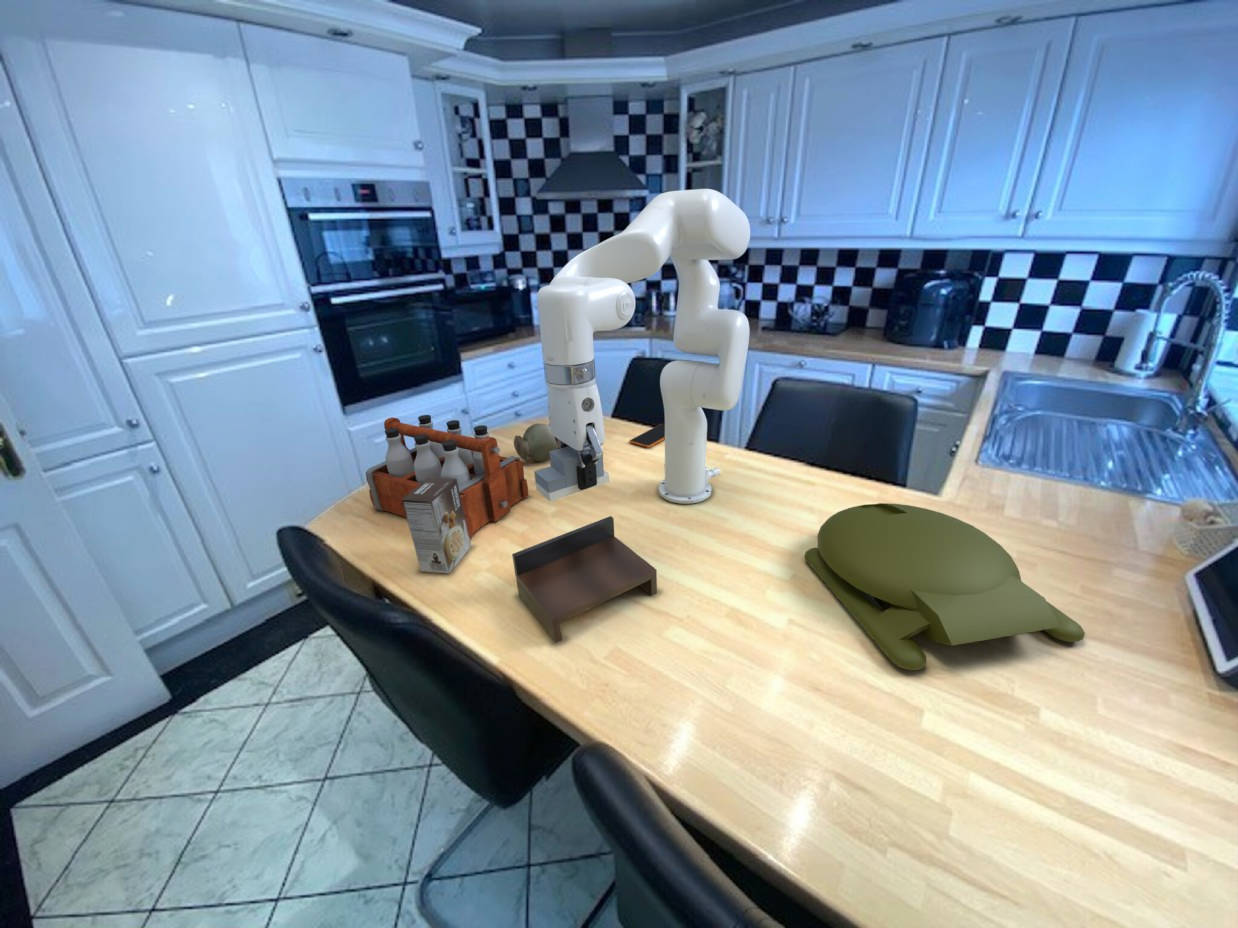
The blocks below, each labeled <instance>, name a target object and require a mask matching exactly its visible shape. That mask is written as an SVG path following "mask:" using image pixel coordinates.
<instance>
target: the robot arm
mask: <svg viewBox="0 0 1238 928" xmlns="http://www.w3.org/2000/svg"><path fill="white" fill-rule="evenodd" d="M750 241H751V226H750V222H749V219H748V217H747V215H746V213H745V212H744V211H743V210H742V209H741V208H740V206H738V205H736V203H734V202H733V201H732V200H731V199H730V198H729V197H727V196H726V195H725V194H723V193H721V192H720V191H718V190H716V189H715V190H714V189H712V188H697V189H683V190H670V191H665V192H662V193H660V194H658V195H656V196H655V197H654V198H652V200H651V201H650V202H649V203H648V204H647V205H646V206H645V207H644V208H643V209H642V210H641V211H640V213H639V214H638V215H637V216H636V217H635V218H633V220H632V221H631V222H630V223H629V224H628V225H627V226H626V228H625V229H624V230H623V231H622V232H620V233H617V234H616V235H613V236H611V237H609V238H607V239H605V240H603V241H601V242H600V243H598V244H596V245H593V246H592V247H590V248H588V249H586V250H583V251H582V252H580V253H579V254H577V255H575V256H574V257H573V258H571V259H570V260H569V261H568V262H567V263H566V264H565V265H564V266H563V267H562V268H561V269H560V270H559V271H558V272H557V273H556V274H555V276H554V277H553V279H551V282H550V283H549V285H545V286H542V287H541V288H540V289H539V290H538V292H537V295H536V303H537V314H538V324H539V334H540V343H541V353H542V361H543V363H542V364H543V372H544V381H545V385H546V387H547V410H548V411H547V412H548V424H550V429H551V432H552V434H553V435H554V436H555V440H556V442H557V449H560V448H564V447H567V446H570V447H572V448H574V449H575V450H576V454H577V459H578V463H579V466H578V467H577V478H578V488H579V489H580V490H584V489H587V488H590V487H593V486H596V485H597V474H596V464H597V462H598V461H597V460H598V459H599V458H600V457H601V456H602V455H603V456H604V450H603V447H602V445H604V444H605V441H606V439H605V437H606V435H605V425H604V415H603V409H602V402H601V397H600V392H599V389H598V385H597V382H596V380H597V379H596V365H595V364H596V363H595V348H594V333H595V332H604V331H605V332H607V331H615V330H618V329H621V328H623V327H624V326H626V325H627V324H628V323H629V322H630V321H631V319H632V318H633V316H634V314H635V311H636V297H635V293H634V290H632V289H633V288H632V287H631V286H630V285H629V284H630V283H635V282H639V281H641V280H644V279H646V278H650V277H652V276H653V275H655V274H657V272H659V271H660V269H661V268H662V267H663V265H664V264H665V263H666V262H667V260H668V259H669V258H670V259H671V262H672V264H673V267H674V270H675V272H676V275H677V280H678V281H677V282H678V293H677V301H676V302H677V303H676V310H675V316H674V317H675V318H674V325H673V336H672V337H673V339H672V340H673V344H674V347H675V348H676V350H678V351H679V352H681V353H685V354H691V355H698V356H707V357H708V356H709V357H715V358H718V363H716V362H706V361H701V360H690V359H676V360H672V361H670V362H668V363H667V364H666V365H665V366H664V367H663V368H662V370H661V372H660V377H659V385H660V386H659V388H660V393H661V399H662V404H663V412H664V413H663V414H664V424H665V439H664V480H662V481H661V482H660V483H659V484H658V494H659V496H660V497H661V498H663V499H664V500H666V501H667V502H671V503H675V504H682V505H690V504H696V503H701V502H704V501H705V500H707V499H708V498H709V497H710V496H711V495H712V490H713V489H712V485H711V484H710V482H709V481H710V480H712V478H715V477H718V476H720V473H721V471H720V469H719V468H717V467H715V468H713V469H710V470H709V468H708V466H707V439H708V420H707V417H706V414H705V412H704V410H703V409H710V410H717V411H730V410H732V409H734V408H735V407H736V405H738V402H739V400H740V397H741V394H742V390H743V389H742V387H743V382H744V377H745V371H746V363H747V358H748V351H749V345H750V335H751V332H750V330H751V329H750V322H749V319H748V317H747V316H746V314H744V313H743V312H742V311H740V310H737V309H727V308H725V309H724V308H719V298H720V291H721V282H720V279H719V276H718V274H717V272H716V270H715V268H714V267H713V266H712V264H711V262H710V261H731V260H736V259H739V258H740V257H742V256H743V255H744V254H745V253H746V251H747V249H748V247H749V244H750ZM585 442H588V445H586V446H583V443H585ZM586 450H589V454H587V455H586V456H585V457H583V451H586ZM596 487H597V486H596ZM593 488H594V487H593ZM590 489H591V488H590ZM587 490H588V489H587ZM584 491H585V490H584Z"/></svg>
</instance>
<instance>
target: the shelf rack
mask: <svg viewBox="0 0 1238 928" xmlns="http://www.w3.org/2000/svg"><path fill="white" fill-rule="evenodd" d="M614 520H615V519H614V517H613V516H611V515H610V516H607V517H604V518H602V519H599V520H596V521H594V522H592V523H589V524H586V525H584V526H581V527H578V528H576V529H573V530H571V531H568V532H565V533H562V534H560V535H558V536H555V537H552V538H550V539H547V540H545V541H542V542H539V543H537V544H535V545H532V546H529V547H526V548H524V549H522V550H519V551H516V552H514V553H511V555H512V556H511V557H512V562H513V563H512V564H513V568H514V569H513V570H514V575H515V581H516V588H517V592H518V597H519V598H520V600H521V601H522V602H523V604H525V606H526V607H527V608H528V610H529V611H530V613H531V614H532V615H533V617H534V618H535V619H536V620H537V621H538V623H539V624H540V626H542V628H543V629H544V631H545V632H546V633H547V634H548V636H549V637H550V639H551V640H552V641H553V642H554V643H555V644H557V643H560V642H562V641H563V637H562V636H563V635H562V627H561V623H564V622H566V621H568V620H571V618H574V617H576V616H578V615H580V614H582V613H584V612H587V611H588V610H590V609H593V608H595V607H597V606H599V605H601V604H603V603H605V602H607V601H609V600H611V599H614V598H616V597H617V596H620V595H621V594H623V593H626V592H628V591H630V590H631V589H634V588H636V587H638V586H640V587H641V588H642V589H643V590H645V592H646V593H648V594H649V595H650V596H653V595H656V594H657V593H658V576H657V572H658V571H657V568H655V567H654V566H653V565H651V564H650V562H648V561H646V559H644V558H642V556H640V555H639V554H638V553H636V552H635V551H634V550H632V549H631V548H630V547H629V546H628V545H626V544H625V543H624V542H623V541H621V540H620V539H619V538H617V537H616V536H615V522H614Z"/></svg>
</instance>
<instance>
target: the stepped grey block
mask: <svg viewBox="0 0 1238 928" xmlns="http://www.w3.org/2000/svg"><path fill="white" fill-rule="evenodd" d="M586 445H588V442H585V443H583V446H586ZM549 454H550V459H549V462H550V466H547V467H543V468H540V469H536V470H534V471H533V472H534V481H535V490H536V491H537V492H538V493H539V494H540V495H542V496H543V497H544V498H545V499H546V500H547V501H549V502H554V501H556V500H559V499H563V498H566V497H569V496H572V495H575V494H579V493H580V492H581V493H582V492H584V491H587V490H590V489H592V488H595V487H598V486H601V485H605V484H608V483H610V474H609V472H607V471H605V468H604V467H605V465H604V454H603V455H602V456H601V457H600V458H599V459H598V460H597V461H598V462H597V464H596V474H597V485H596V486H593V487H590V488H587V489H584V490H580V489H579V488H578V478H577V467H578V466H579V463H578V459H577V454H576V450H575V449H574V448H572V447H570V446H567V447H564V448H560V449H557V450H553V451H550V452H549ZM587 454H589V450H586V451H583V457H585V456H586V455H587Z"/></svg>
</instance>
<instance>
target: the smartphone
mask: <svg viewBox="0 0 1238 928" xmlns="http://www.w3.org/2000/svg"><path fill="white" fill-rule="evenodd" d="M662 441H665V423H660V424H658V425H656V426H655V427H652V428H651V429H649V430H647V431H645V432H643V433H641V434H639V435H637V436H635V437H633V438H631V439H630V440H629V443H630V444H633V445H636V446H640V447H643V448H647V449H649V448H651V447H653V446H655V445H657V444H659V443H660V442H662Z"/></svg>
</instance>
